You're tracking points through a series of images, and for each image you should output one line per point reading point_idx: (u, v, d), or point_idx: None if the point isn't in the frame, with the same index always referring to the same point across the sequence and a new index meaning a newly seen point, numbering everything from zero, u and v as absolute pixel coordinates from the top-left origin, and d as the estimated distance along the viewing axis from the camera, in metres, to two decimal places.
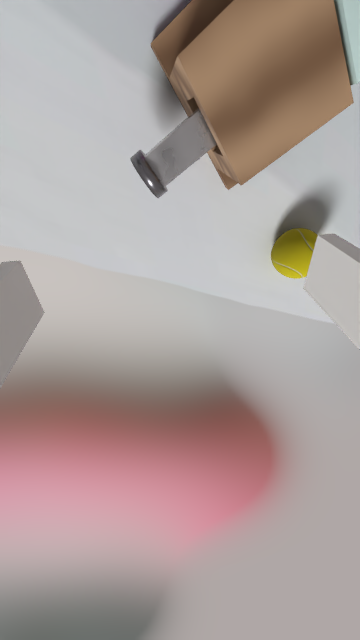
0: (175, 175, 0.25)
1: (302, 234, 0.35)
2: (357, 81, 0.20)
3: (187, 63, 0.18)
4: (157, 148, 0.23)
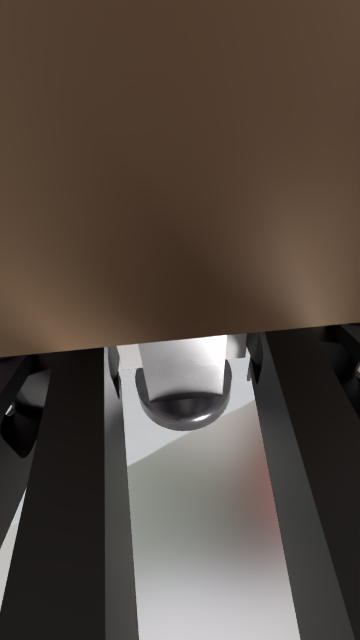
0: (219, 371, 0.10)
1: None
2: None
3: None
4: (148, 379, 0.10)
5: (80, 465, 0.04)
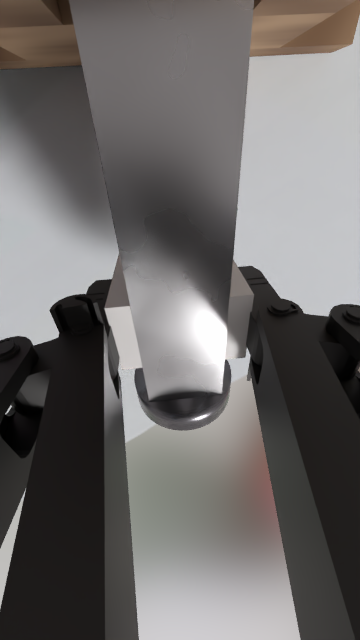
0: (219, 370, 0.10)
1: None
2: None
3: None
4: (147, 378, 0.10)
5: (79, 466, 0.04)
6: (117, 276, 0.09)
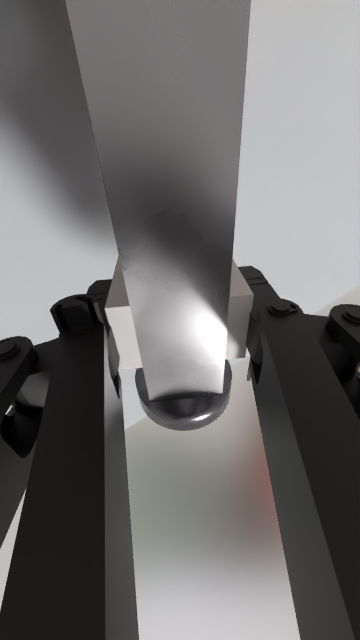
0: (219, 370, 0.10)
1: None
2: None
3: None
4: (148, 379, 0.10)
5: (79, 466, 0.04)
6: (117, 276, 0.09)
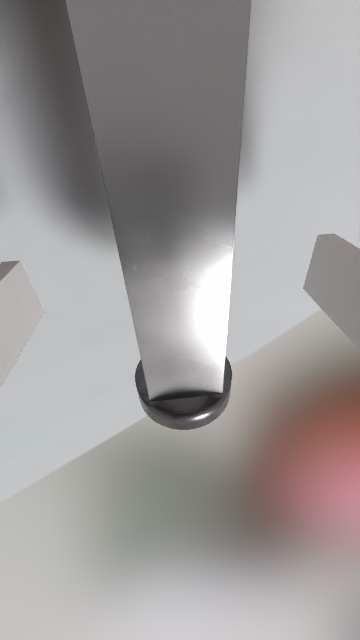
0: (220, 369, 0.10)
1: None
2: None
3: None
4: (148, 378, 0.10)
5: None
6: None
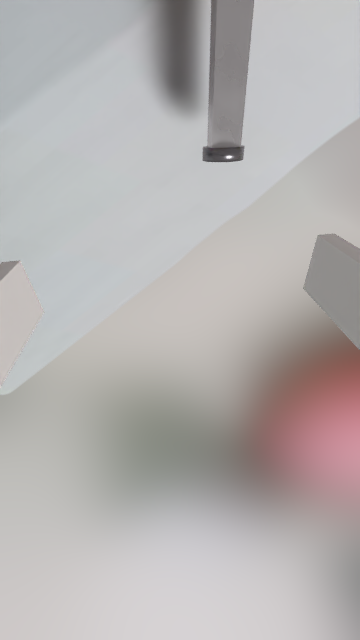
0: (240, 128, 0.26)
1: None
2: None
3: None
4: (213, 130, 0.25)
5: None
6: None
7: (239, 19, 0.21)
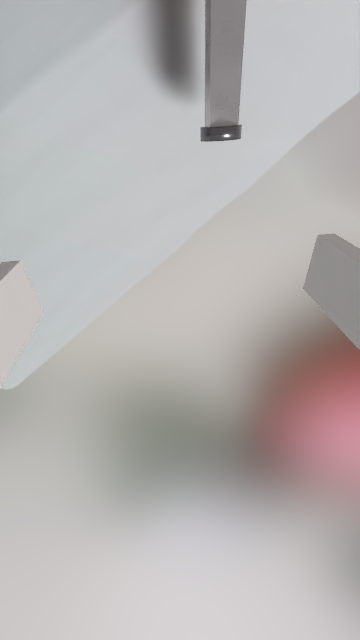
0: (237, 106, 0.26)
1: None
2: None
3: None
4: (210, 108, 0.26)
5: None
6: None
7: None
